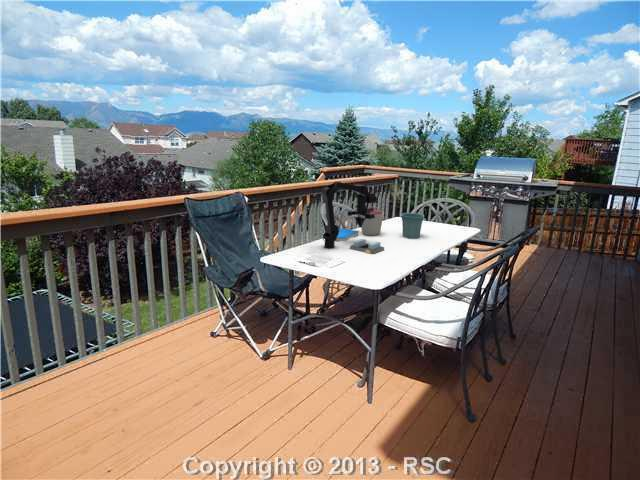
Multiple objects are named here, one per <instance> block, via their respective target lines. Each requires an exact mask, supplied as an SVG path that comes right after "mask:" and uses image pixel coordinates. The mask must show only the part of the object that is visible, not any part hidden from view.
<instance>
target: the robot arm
mask: <svg viewBox="0 0 640 480" xmlns="http://www.w3.org/2000/svg"><path fill="white" fill-rule="evenodd" d="M340 189H343V190H348V191H353V192H354V193H356V194H355V195H354V196H353V197H354V198H356V205H355V208H356V210H348V211H347V216H350V217H351V216H354V217H353V218H354V219H355V221H356V223H357V224H358V225H357V226H359V228H361V227H362V225H363V222H364V220H365V219H372V218H375V215H374V214H372V213H370V212H371V209H370V207H369V208H368V204H375V203H377V200H378V199H377V196H376V193H375V192H371V193H370V191H369V190H368V187H367V185H364V184H352V183H351V184H349V183H347V182H346V183H345V182H341V181H334V182H333V183H331V184H329V185H327V186H326V187H323V188H322V189H321V191H320V194H321V196H322V199H323V201H324V205H325V212H326V220H327V225H326V228H325V230H326V231H325V232H324V233H323V234H322V239H323V238H324V239H325V240H324V249H327V250H329V249H335V247H336V246H335V243H336V242H335V241H336V238H337V236H338V235H339V229H340V227H339V225H337V224H336V223H335V222H336V221H335V219H336V218H335V213H334V212H335V211H334V204H333V201H334V198H335V194H336V193H337V192H338V191H339V190H340ZM365 213H368V214H365Z"/></svg>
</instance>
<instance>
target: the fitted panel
mask: <svg viewBox="0 0 640 480" xmlns="http://www.w3.org/2000/svg"><path fill="white" fill-rule="evenodd" d="M366 241H367V240H366V238H360V239H357V240H354V241H353V245H354V246H355V247H360V246H363V245H366V243H367V242H366Z"/></svg>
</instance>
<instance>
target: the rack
mask: <svg viewBox="0 0 640 480" xmlns="http://www.w3.org/2000/svg"><path fill="white" fill-rule="evenodd" d="M369 244H370V243H367V242H366V245H363V246H360V247H355V246H354V244H351V245H350V246H349V250H352V251H357V252H362V253H365V254H369V255H376V254H378V253H381V252H383V251H385V247H384V246H382V245H380V248H378V249H375V250H369V249H368V245H369Z"/></svg>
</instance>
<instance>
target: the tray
mask: <svg viewBox="0 0 640 480" xmlns="http://www.w3.org/2000/svg"><path fill="white" fill-rule="evenodd" d="M297 257H303V258H305V259H303V260H306V261H310V262H307V264H306V265H311V266H314V267H318V268H320V267H326V268H327V267H328V268H330V269H332V268H333V267H336V266H338V265H340V264H343V263H345V261H344V260H343V261H342V260H340V257H339V258H338V257H334V256H332V255H331V256H330V255H326V254H321V253H317V254H311V253H304V254H302V255H299V256H296V257H295V258H297Z"/></svg>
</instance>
